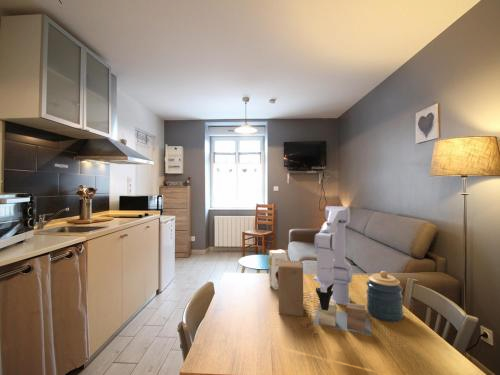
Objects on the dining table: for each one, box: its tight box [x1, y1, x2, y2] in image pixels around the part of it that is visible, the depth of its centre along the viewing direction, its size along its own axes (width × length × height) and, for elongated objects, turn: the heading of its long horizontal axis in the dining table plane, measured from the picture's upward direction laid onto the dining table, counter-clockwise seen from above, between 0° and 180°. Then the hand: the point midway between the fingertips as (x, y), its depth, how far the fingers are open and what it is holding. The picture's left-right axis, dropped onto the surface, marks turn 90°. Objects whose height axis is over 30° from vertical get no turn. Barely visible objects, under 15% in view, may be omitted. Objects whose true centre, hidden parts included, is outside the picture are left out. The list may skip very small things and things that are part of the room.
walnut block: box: [346, 302, 366, 333], centre depth 87 cm, size 4×6×8 cm, turn 67°
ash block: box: [317, 299, 337, 327], centre depth 91 cm, size 4×6×8 cm, turn 67°
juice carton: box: [268, 248, 288, 291], centre depth 126 cm, size 8×9×19 cm
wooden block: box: [277, 259, 304, 317], centre depth 101 cm, size 10×10×20 cm
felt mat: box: [312, 307, 373, 337], centre depth 92 cm, size 14×20×1 cm
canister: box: [366, 270, 404, 323], centre depth 97 cm, size 13×13×18 cm
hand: (325, 304), depth 85 cm, fingers open, 7 cm apart
